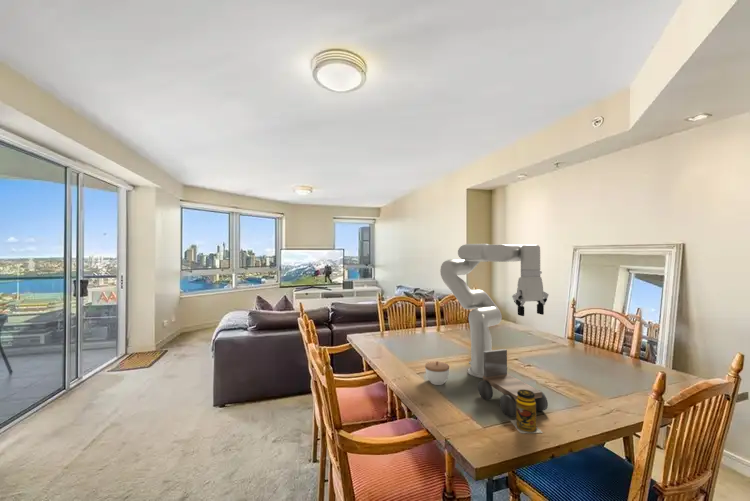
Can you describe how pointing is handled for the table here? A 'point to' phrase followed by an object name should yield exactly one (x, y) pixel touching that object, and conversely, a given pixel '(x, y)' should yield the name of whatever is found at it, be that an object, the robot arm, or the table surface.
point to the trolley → (505, 383)
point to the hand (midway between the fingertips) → (530, 314)
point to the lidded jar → (437, 372)
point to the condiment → (526, 412)
